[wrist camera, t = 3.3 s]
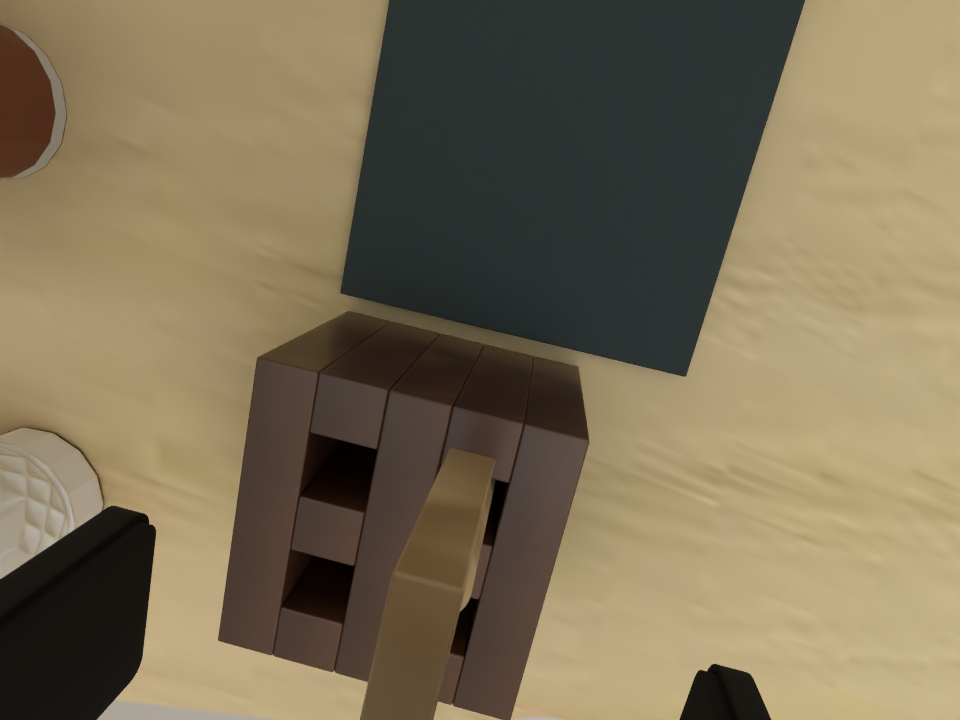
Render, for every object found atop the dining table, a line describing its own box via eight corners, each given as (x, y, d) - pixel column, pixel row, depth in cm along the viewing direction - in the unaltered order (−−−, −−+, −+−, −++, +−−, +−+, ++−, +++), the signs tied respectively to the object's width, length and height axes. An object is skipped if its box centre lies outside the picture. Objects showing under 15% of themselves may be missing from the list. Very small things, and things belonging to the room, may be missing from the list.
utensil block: (579, 367, 28) (590, 440, 19) (522, 575, 30) (509, 722, 22) (347, 310, 28) (256, 356, 20) (311, 519, 31) (217, 641, 22)
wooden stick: (527, 344, 28) (480, 594, 8) (501, 451, 29) (404, 893, 9) (495, 337, 28) (377, 567, 9) (470, 443, 29) (313, 867, 10)
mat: (897, -307, 21) (906, -321, 21) (682, 373, 27) (685, 377, 27) (459, -385, 22) (456, -401, 22) (344, 291, 28) (339, 293, 28)
